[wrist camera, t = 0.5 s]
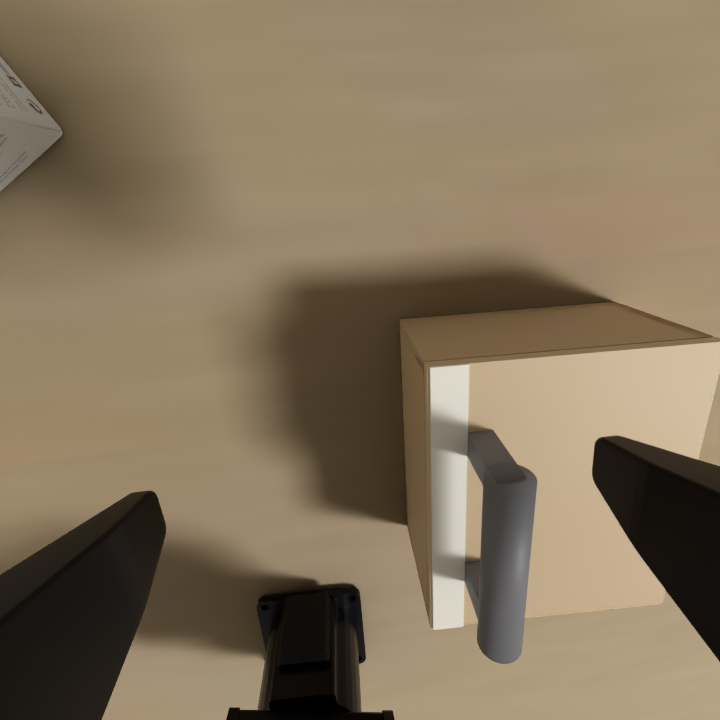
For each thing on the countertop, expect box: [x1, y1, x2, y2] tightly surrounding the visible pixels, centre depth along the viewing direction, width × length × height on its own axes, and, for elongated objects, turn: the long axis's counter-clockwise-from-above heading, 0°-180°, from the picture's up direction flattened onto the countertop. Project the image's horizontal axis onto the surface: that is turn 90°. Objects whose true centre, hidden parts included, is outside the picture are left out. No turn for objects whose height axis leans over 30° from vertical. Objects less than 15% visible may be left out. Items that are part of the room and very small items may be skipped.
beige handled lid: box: [424, 337, 720, 664], centre depth 16 cm, size 13×11×4 cm
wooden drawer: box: [400, 302, 713, 614], centre depth 21 cm, size 13×11×6 cm
